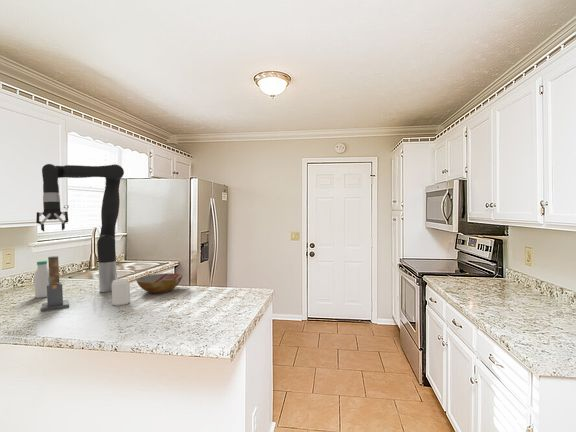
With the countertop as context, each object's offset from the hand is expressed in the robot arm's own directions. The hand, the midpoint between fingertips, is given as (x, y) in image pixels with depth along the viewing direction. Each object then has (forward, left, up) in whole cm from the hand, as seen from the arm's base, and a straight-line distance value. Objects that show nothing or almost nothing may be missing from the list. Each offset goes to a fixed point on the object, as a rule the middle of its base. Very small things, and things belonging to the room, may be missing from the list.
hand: (53, 230), depth 181 cm
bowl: (-54, +7, -38) cm, 66 cm away
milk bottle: (+9, -8, -38) cm, 39 cm away
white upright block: (-37, +27, -38) cm, 59 cm away
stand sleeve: (-6, +20, -37) cm, 43 cm away
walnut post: (-6, +20, -29) cm, 36 cm away
